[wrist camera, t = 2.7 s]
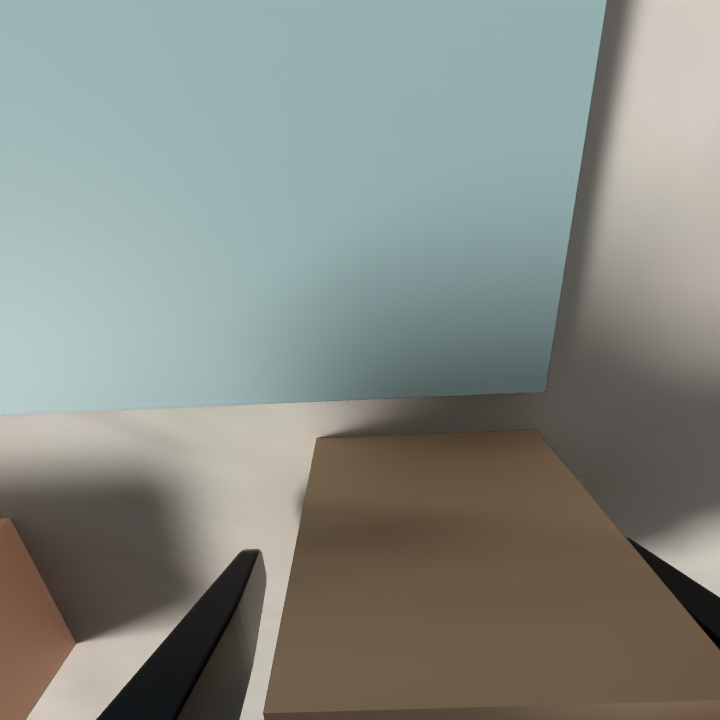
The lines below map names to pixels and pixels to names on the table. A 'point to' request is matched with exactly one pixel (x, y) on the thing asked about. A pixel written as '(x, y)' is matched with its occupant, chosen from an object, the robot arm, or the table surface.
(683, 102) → the table surface
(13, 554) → the terracotta cube
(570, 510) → the walnut cube
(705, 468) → the table surface
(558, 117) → the board
